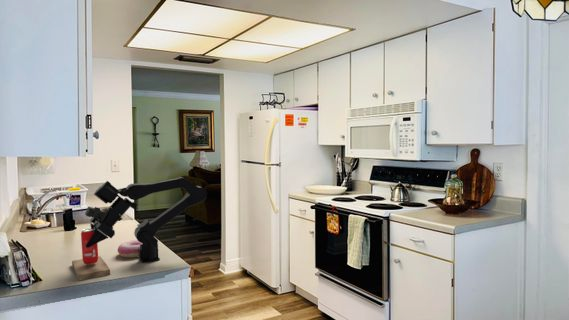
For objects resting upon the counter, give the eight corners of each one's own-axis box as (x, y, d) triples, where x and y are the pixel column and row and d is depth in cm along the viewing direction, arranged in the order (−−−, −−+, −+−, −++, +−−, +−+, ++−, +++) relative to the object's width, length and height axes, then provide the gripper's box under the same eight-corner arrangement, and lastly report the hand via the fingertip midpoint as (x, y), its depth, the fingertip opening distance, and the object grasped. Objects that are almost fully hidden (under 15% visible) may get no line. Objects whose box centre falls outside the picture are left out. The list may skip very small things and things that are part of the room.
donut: (127, 261, 158) (127, 249, 157) (111, 255, 166) (111, 243, 166) (158, 253, 168) (158, 241, 167) (141, 248, 177) (141, 237, 176)
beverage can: (79, 264, 146) (77, 231, 145) (88, 260, 151) (86, 228, 150) (92, 264, 145) (90, 231, 144) (101, 260, 150) (99, 228, 149)
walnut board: (100, 260, 159) (100, 256, 159) (110, 274, 142) (110, 269, 142) (72, 265, 154) (71, 260, 154) (78, 280, 137) (78, 275, 137)
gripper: (94, 195, 156) (64, 227, 151) (102, 201, 141) (69, 237, 136) (117, 212, 161) (88, 244, 156) (127, 220, 146) (96, 256, 140)
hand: (85, 245), depth 147 cm, fingers closed on beverage can, 5 cm apart
